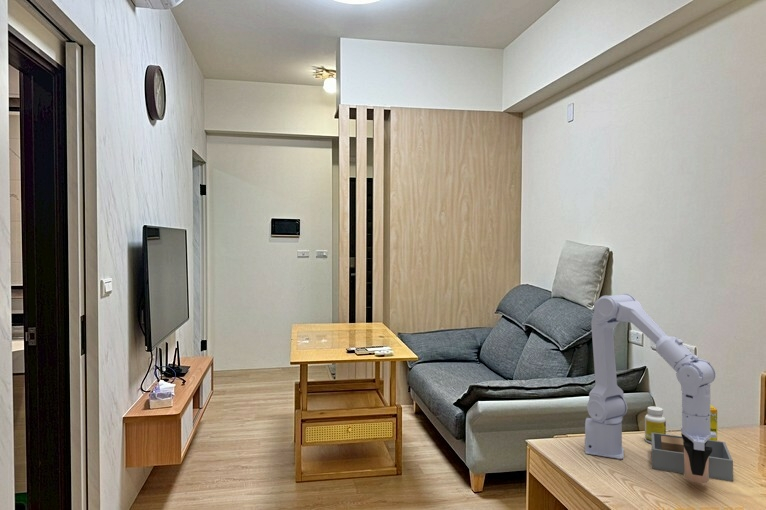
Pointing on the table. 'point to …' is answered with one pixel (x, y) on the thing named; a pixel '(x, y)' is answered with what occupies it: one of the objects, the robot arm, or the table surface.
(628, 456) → the table surface
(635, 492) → the table surface
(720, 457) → the tote
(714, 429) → the supplement box
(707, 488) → the table surface
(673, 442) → the walnut cube
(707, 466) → the terracotta cylinder
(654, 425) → the supplement bottle
